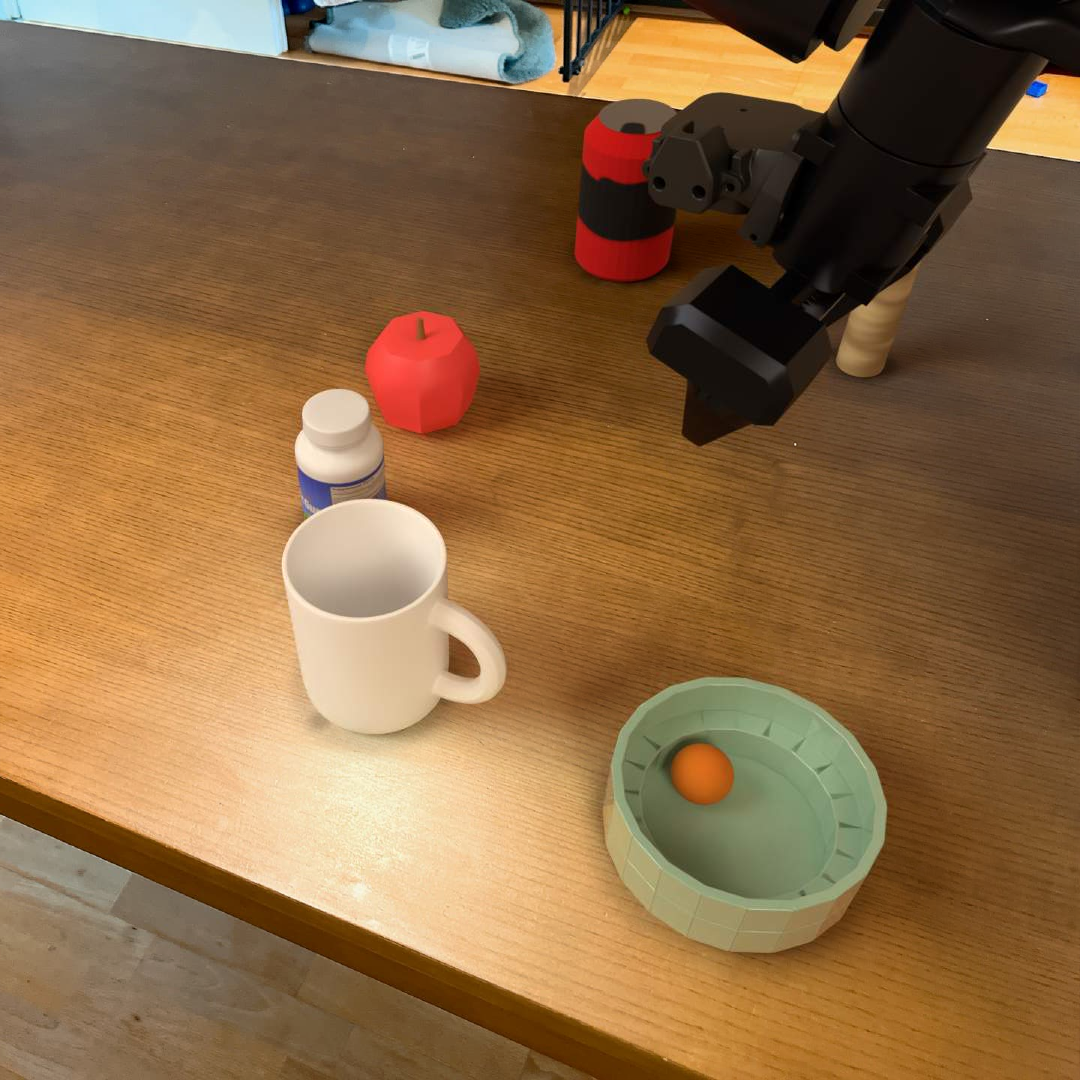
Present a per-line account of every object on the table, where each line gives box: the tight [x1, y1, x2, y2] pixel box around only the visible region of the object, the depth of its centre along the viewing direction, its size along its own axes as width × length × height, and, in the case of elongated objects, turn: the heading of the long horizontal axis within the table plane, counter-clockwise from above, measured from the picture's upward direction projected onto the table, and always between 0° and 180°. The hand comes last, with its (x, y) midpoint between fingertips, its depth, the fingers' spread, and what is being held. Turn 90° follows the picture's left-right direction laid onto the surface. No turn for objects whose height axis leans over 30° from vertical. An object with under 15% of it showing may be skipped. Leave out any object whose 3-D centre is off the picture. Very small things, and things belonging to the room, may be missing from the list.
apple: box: [364, 310, 481, 435], centre depth 73 cm, size 8×8×8 cm
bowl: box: [602, 676, 888, 954], centre depth 51 cm, size 12×12×5 cm
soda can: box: [574, 98, 678, 283], centre depth 83 cm, size 8×8×12 cm
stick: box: [835, 228, 929, 378], centre depth 72 cm, size 3×3×13 cm
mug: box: [281, 499, 508, 735], centre depth 56 cm, size 12×8×10 cm
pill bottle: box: [294, 388, 387, 521], centre depth 66 cm, size 5×5×10 cm
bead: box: [671, 743, 734, 805], centre depth 53 cm, size 3×3×3 cm
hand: (738, 390), depth 53 cm, fingers open, 9 cm apart
